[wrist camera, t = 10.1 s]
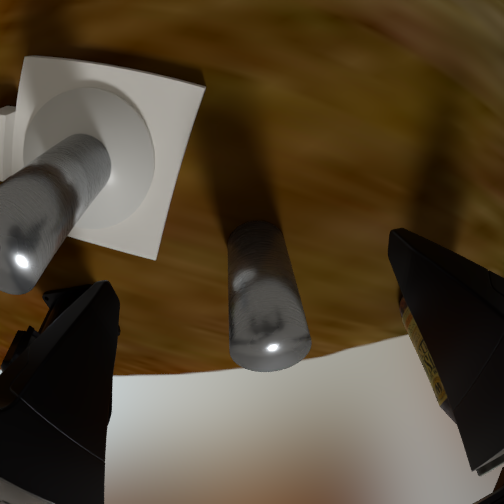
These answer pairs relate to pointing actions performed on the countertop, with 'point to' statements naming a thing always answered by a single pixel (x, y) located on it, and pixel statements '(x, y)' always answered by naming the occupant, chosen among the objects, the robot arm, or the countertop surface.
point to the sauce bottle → (435, 375)
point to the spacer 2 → (264, 301)
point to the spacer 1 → (47, 207)
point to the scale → (107, 140)
